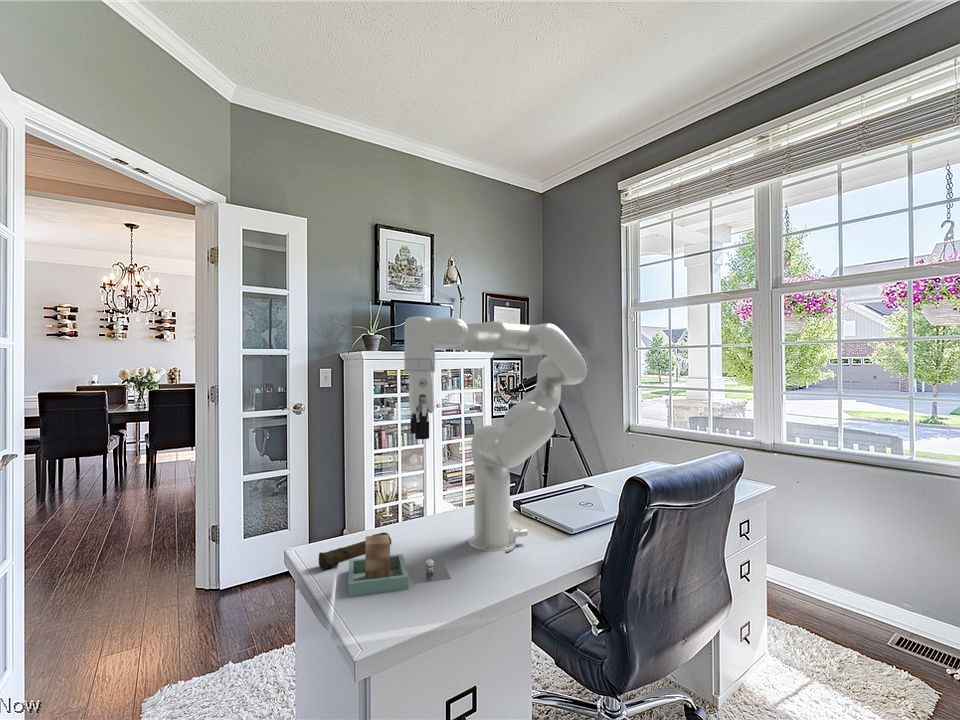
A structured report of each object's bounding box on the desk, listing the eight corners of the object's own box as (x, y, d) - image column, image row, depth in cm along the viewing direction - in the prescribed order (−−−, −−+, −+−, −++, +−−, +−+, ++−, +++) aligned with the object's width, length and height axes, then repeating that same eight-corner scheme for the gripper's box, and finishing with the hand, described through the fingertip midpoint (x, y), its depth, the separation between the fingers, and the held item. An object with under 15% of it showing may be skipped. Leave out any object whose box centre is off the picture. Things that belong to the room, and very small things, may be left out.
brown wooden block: (388, 574, 101) (388, 534, 101) (389, 585, 96) (389, 542, 96) (365, 577, 99) (365, 536, 100) (365, 588, 95) (365, 545, 95)
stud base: (443, 567, 106) (443, 550, 106) (450, 583, 98) (450, 564, 98) (409, 571, 103) (409, 554, 104) (414, 588, 96) (414, 569, 96)
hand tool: (323, 573, 103) (324, 552, 103) (317, 567, 106) (317, 547, 106) (396, 552, 116) (396, 533, 116) (388, 547, 119) (388, 529, 119)
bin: (402, 569, 105) (402, 553, 105) (408, 593, 93) (408, 576, 94) (348, 575, 102) (349, 559, 102) (348, 601, 90) (348, 584, 90)
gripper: (441, 366, 104) (440, 440, 103) (429, 367, 120) (428, 431, 120) (408, 366, 102) (408, 442, 101) (400, 367, 118) (400, 432, 118)
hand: (419, 436), depth 111 cm, fingers open, 9 cm apart
